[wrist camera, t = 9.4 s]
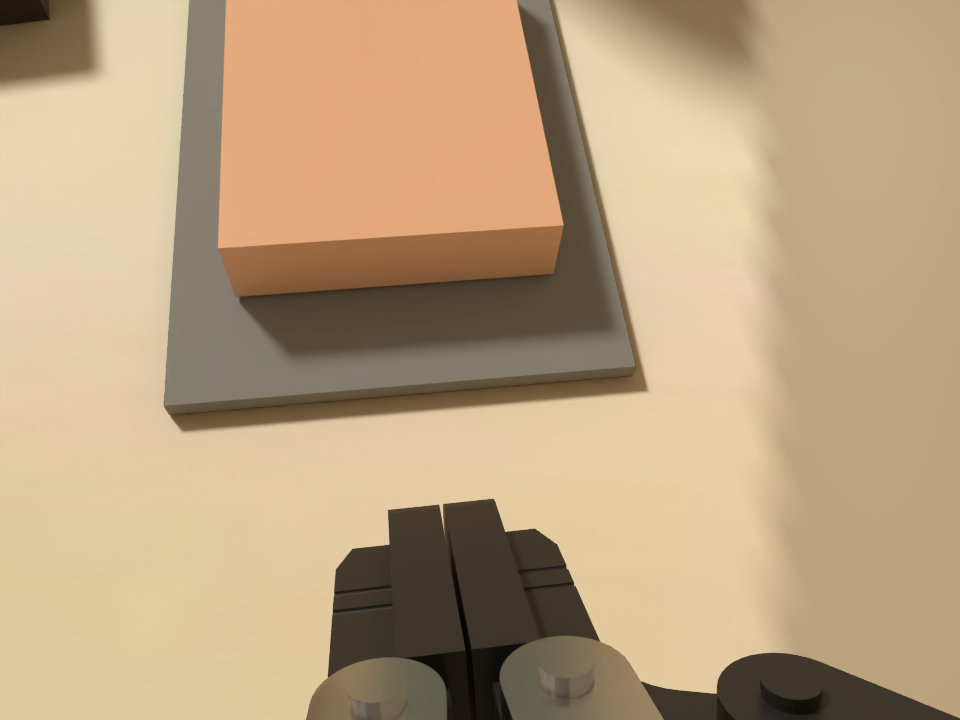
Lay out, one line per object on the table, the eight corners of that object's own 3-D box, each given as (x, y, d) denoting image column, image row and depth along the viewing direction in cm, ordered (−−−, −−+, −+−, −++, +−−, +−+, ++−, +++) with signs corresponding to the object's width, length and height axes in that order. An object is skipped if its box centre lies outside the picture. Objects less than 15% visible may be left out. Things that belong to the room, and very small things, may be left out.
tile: (218, 248, 25) (228, -64, 31) (236, 299, 27) (242, -2, 34) (563, 225, 26) (501, -73, 32) (552, 276, 28) (496, -11, 35)
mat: (169, 414, 25) (164, 405, 25) (194, -12, 35) (190, -25, 34) (631, 375, 27) (635, 366, 26) (538, -25, 36) (540, -37, 35)
